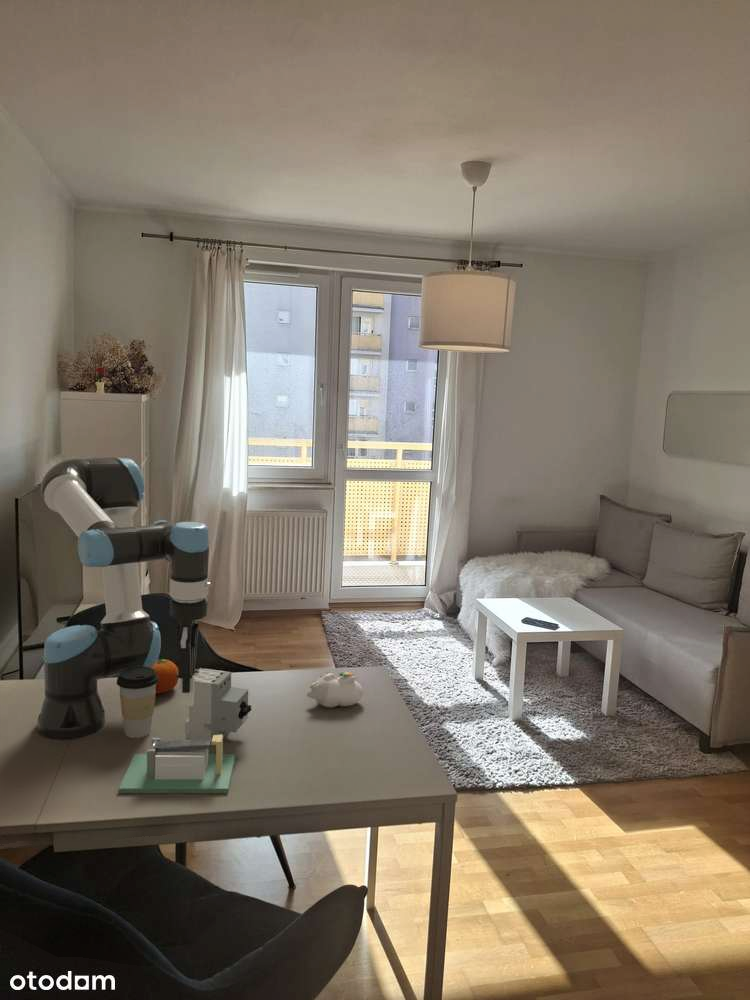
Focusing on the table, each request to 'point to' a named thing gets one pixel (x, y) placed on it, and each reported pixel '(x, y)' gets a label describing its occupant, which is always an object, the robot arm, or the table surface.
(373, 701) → the table surface
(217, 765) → the board
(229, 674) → the circuit breaker
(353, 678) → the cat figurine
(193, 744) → the grey lever
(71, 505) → the robot arm
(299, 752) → the table surface
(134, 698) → the coffee cup
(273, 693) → the table surface
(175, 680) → the fruit
